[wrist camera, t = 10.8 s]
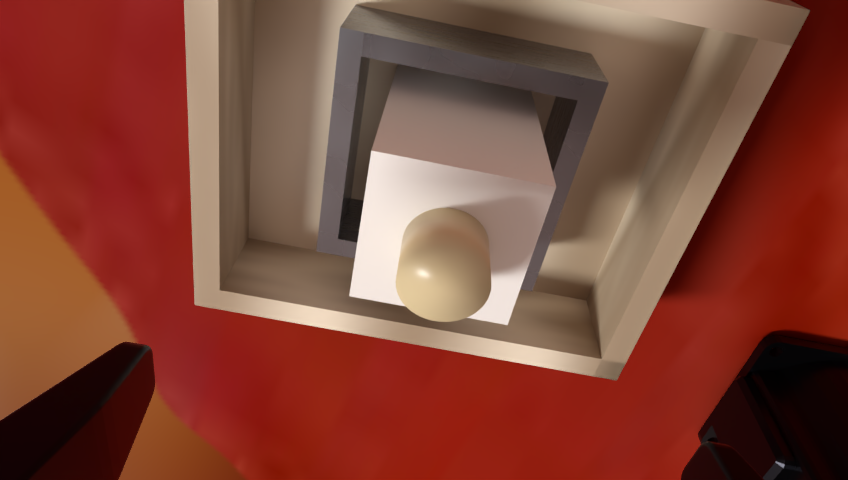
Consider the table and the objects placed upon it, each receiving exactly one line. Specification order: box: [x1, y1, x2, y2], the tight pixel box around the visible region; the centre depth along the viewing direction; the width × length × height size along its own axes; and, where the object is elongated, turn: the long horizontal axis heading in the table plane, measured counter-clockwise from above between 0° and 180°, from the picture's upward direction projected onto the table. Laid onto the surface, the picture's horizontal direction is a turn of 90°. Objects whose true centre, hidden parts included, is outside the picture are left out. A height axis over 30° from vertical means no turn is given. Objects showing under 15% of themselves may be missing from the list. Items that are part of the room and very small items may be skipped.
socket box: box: [184, 0, 810, 380], centre depth 18 cm, size 14×12×4 cm
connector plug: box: [349, 64, 556, 325], centre depth 16 cm, size 4×4×8 cm
